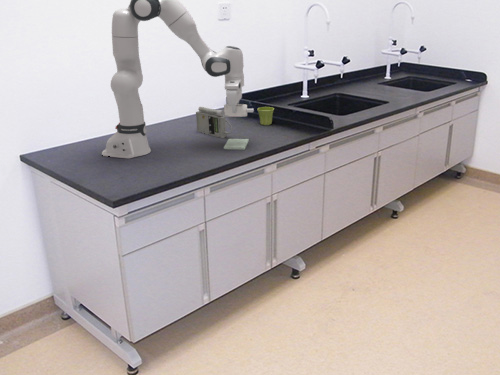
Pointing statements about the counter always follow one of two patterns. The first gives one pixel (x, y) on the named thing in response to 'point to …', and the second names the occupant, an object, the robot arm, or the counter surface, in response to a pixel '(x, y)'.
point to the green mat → (236, 144)
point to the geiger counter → (211, 122)
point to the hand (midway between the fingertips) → (235, 111)
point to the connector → (240, 108)
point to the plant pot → (265, 115)
